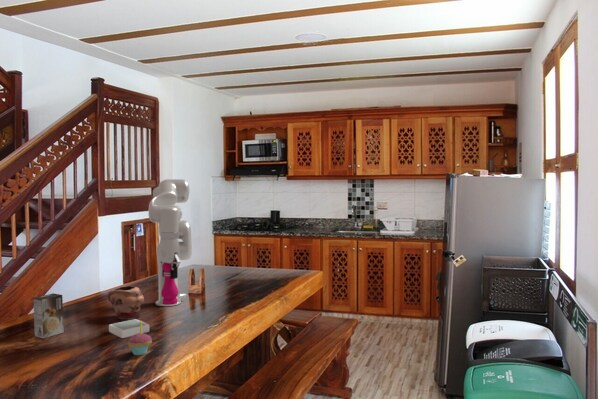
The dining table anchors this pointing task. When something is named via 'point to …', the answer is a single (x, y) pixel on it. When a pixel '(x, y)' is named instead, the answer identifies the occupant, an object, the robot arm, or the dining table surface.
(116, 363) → the dining table surface
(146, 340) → the cupcake
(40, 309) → the coffee box
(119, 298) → the decorative planter
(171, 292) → the pepper mill
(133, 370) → the dining table surface
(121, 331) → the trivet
